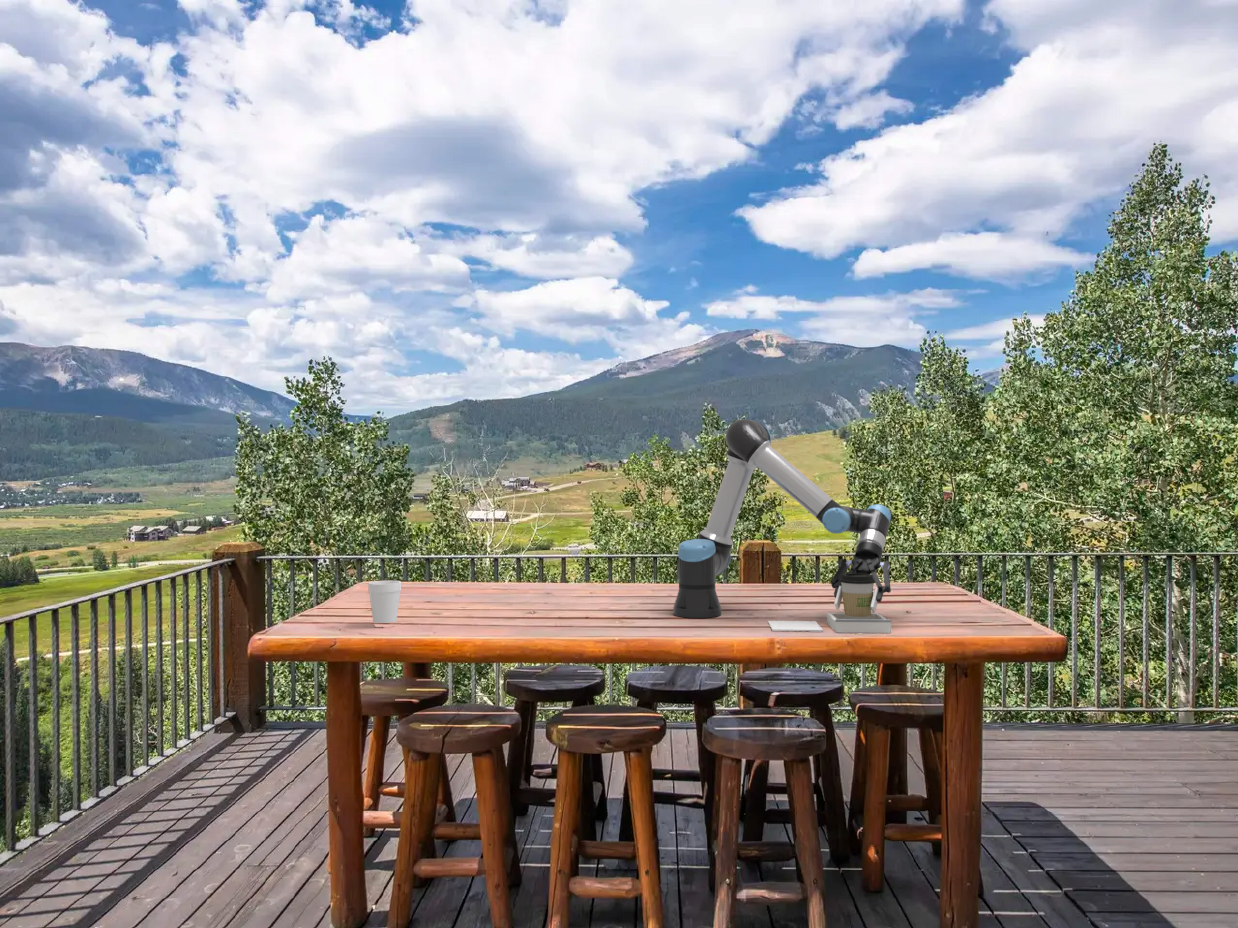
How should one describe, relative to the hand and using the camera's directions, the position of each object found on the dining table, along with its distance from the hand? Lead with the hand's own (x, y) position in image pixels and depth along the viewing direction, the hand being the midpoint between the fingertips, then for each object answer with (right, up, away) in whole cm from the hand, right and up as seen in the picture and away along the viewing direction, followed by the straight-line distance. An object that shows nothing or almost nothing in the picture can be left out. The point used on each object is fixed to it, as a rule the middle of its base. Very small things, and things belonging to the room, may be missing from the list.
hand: (854, 608), depth 231 cm
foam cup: (-137, -8, +11) cm, 138 cm away
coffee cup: (+2, -6, +3) cm, 7 cm away
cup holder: (+2, -6, +2) cm, 7 cm away
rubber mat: (-16, -6, +4) cm, 18 cm away
